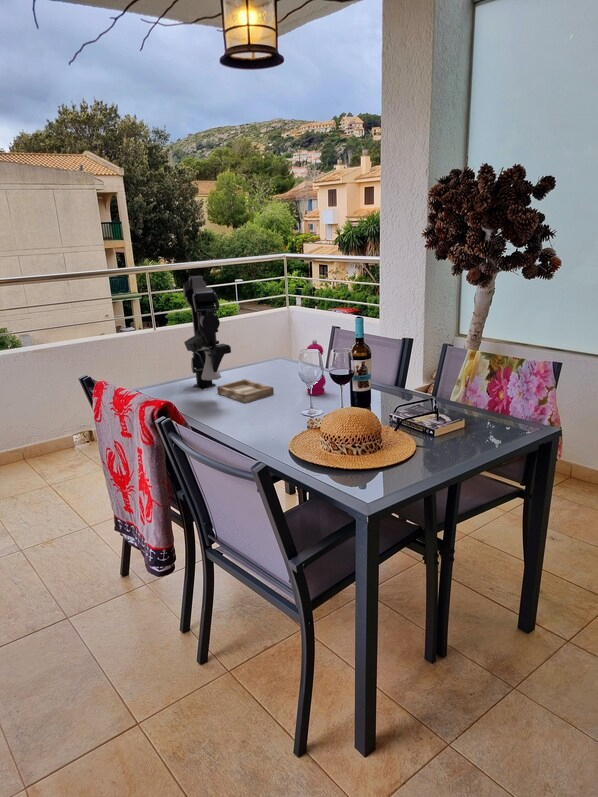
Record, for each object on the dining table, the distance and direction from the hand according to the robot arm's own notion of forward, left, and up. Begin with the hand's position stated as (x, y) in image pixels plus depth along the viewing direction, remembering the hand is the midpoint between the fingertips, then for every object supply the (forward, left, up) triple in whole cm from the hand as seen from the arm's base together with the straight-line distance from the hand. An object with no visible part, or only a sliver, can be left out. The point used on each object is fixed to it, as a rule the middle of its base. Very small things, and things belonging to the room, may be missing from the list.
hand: (210, 370), depth 196 cm
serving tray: (+2, +13, -11) cm, 17 cm away
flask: (0, 0, -3) cm, 3 cm away
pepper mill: (+21, +31, -12) cm, 39 cm away
